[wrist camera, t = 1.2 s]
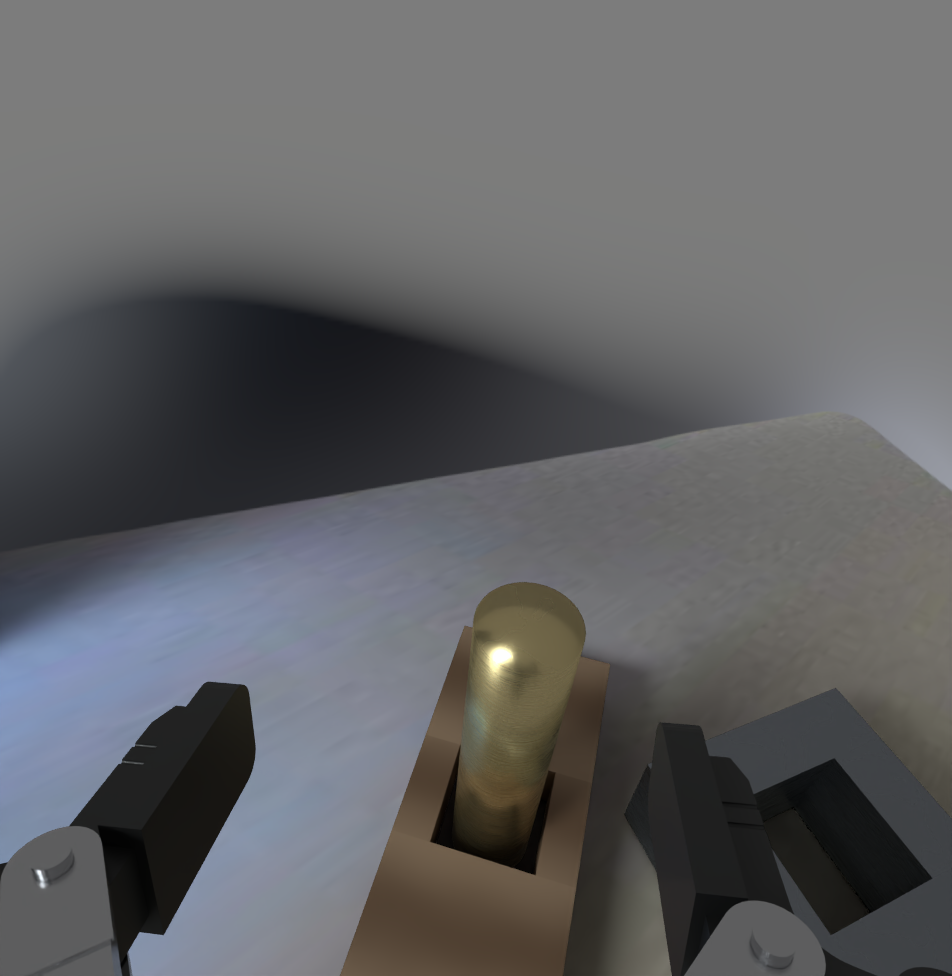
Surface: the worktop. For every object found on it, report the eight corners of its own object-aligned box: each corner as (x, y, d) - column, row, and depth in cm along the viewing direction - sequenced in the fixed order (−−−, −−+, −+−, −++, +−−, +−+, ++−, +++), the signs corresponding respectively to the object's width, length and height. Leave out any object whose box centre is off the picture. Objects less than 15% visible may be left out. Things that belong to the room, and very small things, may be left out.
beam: (534, 1108, 26) (544, 1094, 24) (332, 1033, 27) (326, 1014, 25) (599, 695, 39) (610, 664, 37) (461, 657, 40) (464, 625, 38)
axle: (440, 811, 34) (456, 598, 23) (508, 785, 35) (553, 571, 24) (469, 888, 31) (501, 689, 21) (541, 857, 32) (606, 653, 22)
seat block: (624, 813, 34) (647, 764, 31) (798, 739, 38) (835, 687, 34) (776, 1086, 27) (828, 1059, 23) (974, 961, 30) (1043, 922, 27)
